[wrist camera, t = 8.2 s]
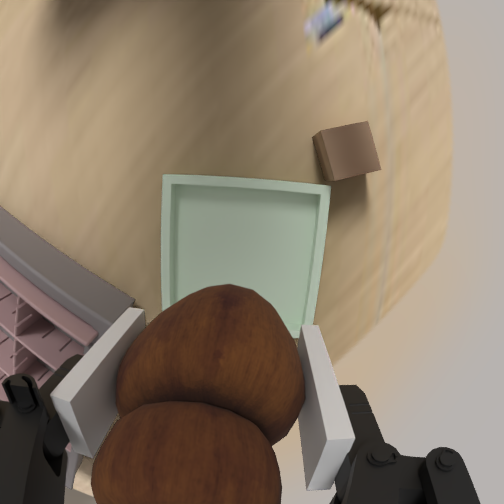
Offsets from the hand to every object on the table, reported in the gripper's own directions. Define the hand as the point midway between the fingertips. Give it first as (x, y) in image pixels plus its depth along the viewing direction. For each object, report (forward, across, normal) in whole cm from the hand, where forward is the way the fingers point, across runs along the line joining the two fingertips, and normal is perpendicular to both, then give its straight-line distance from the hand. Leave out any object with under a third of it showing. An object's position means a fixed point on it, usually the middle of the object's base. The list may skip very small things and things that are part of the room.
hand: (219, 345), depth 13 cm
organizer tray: (+16, -32, -16) cm, 39 cm away
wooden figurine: (+2, 0, 0) cm, 2 cm away
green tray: (+15, 0, 0) cm, 15 cm away
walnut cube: (+15, +8, +10) cm, 20 cm away
